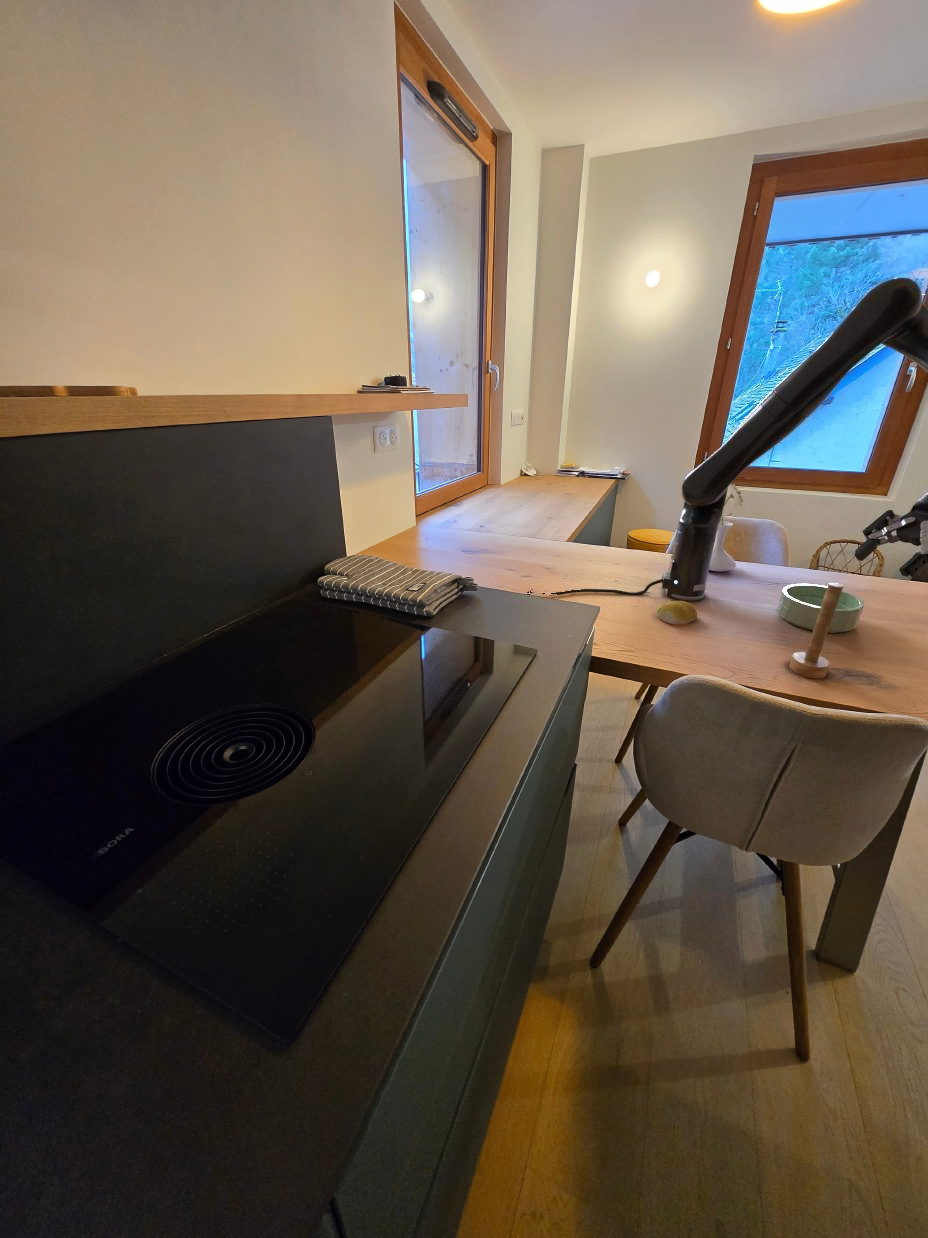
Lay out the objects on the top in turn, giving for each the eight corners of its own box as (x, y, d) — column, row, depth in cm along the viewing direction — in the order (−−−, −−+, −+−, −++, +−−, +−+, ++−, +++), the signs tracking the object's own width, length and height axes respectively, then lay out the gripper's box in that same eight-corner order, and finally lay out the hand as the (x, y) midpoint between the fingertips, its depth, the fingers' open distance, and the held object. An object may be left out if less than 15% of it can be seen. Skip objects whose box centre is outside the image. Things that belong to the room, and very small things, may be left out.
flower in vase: (737, 576, 142) (758, 488, 131) (694, 572, 146) (711, 486, 135) (731, 562, 153) (750, 480, 142) (692, 558, 157) (707, 478, 146)
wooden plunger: (793, 675, 94) (821, 589, 87) (786, 660, 100) (811, 577, 92) (830, 680, 93) (862, 592, 85) (820, 665, 98) (849, 580, 90)
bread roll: (702, 619, 117) (705, 603, 116) (679, 628, 113) (682, 613, 111) (672, 607, 124) (675, 592, 122) (649, 616, 119) (651, 600, 118)
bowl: (785, 630, 112) (792, 605, 109) (769, 603, 125) (775, 581, 122) (866, 639, 107) (876, 614, 105) (841, 610, 120) (849, 587, 118)
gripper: (908, 475, 90) (836, 541, 93) (999, 490, 78) (912, 565, 81) (920, 503, 94) (850, 565, 96) (1009, 521, 81) (926, 592, 84)
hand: (879, 565), depth 89 cm, fingers open, 8 cm apart
